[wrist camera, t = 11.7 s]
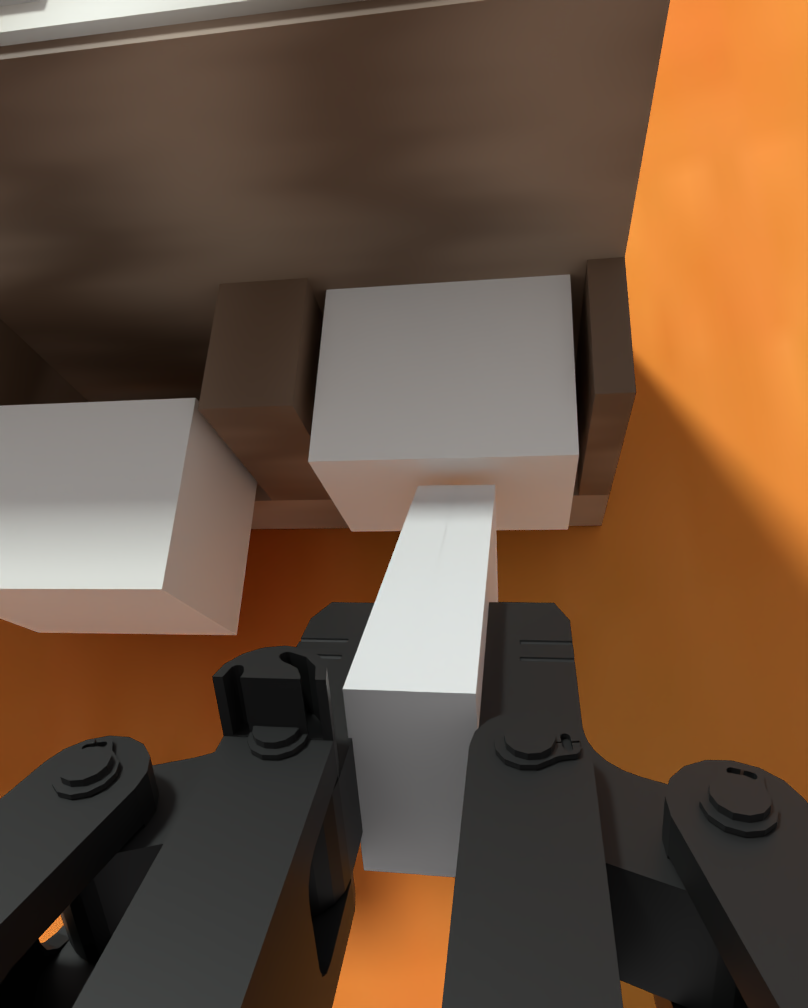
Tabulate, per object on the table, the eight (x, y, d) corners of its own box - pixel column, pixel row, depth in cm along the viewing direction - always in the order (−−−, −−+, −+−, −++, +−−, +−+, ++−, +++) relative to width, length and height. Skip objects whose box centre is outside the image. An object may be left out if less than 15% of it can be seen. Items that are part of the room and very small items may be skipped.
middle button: (38, 632, 18) (-81, 588, 14) (73, 480, 19) (-26, 406, 16) (237, 635, 17) (161, 589, 13) (258, 475, 18) (195, 397, 15)
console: (-141, 533, 22) (-798, 257, 11) (-74, 340, 25) (-552, -36, 14) (601, 525, 19) (707, 118, 8) (588, 302, 22) (653, -238, 11)
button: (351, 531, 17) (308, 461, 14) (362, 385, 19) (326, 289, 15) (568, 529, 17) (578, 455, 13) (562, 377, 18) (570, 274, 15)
